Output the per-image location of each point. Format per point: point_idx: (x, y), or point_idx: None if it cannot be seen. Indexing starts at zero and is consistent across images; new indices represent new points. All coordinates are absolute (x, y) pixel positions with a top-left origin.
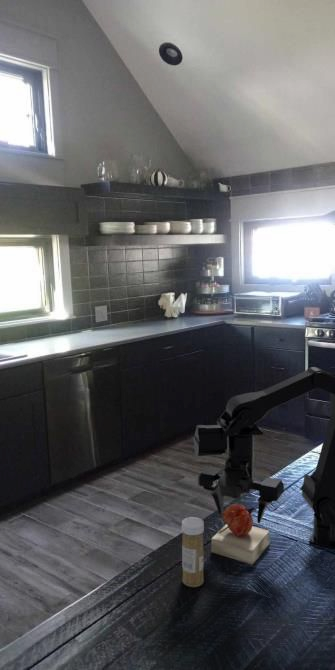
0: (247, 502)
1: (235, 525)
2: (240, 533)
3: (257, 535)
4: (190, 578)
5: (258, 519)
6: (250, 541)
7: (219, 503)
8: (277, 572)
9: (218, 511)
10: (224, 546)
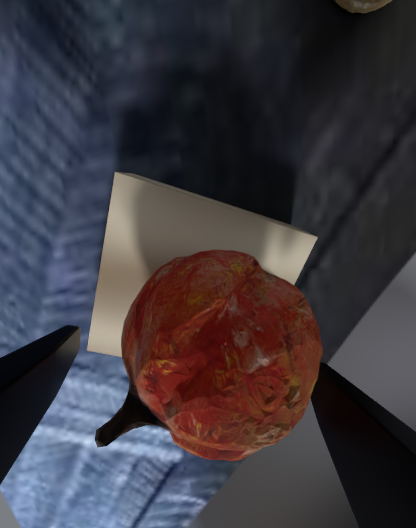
0: (208, 473)
1: (218, 260)
2: (187, 257)
3: (125, 306)
4: None
5: (54, 340)
6: (143, 254)
7: (385, 434)
8: (24, 138)
9: (340, 375)
10: (253, 215)
